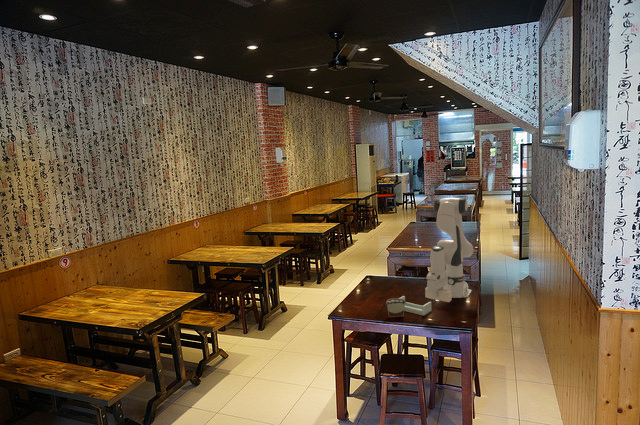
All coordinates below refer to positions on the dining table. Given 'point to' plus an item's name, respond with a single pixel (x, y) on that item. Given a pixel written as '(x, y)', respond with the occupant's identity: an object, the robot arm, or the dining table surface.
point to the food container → (395, 307)
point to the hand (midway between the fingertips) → (438, 295)
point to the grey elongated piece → (417, 307)
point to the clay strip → (439, 295)
